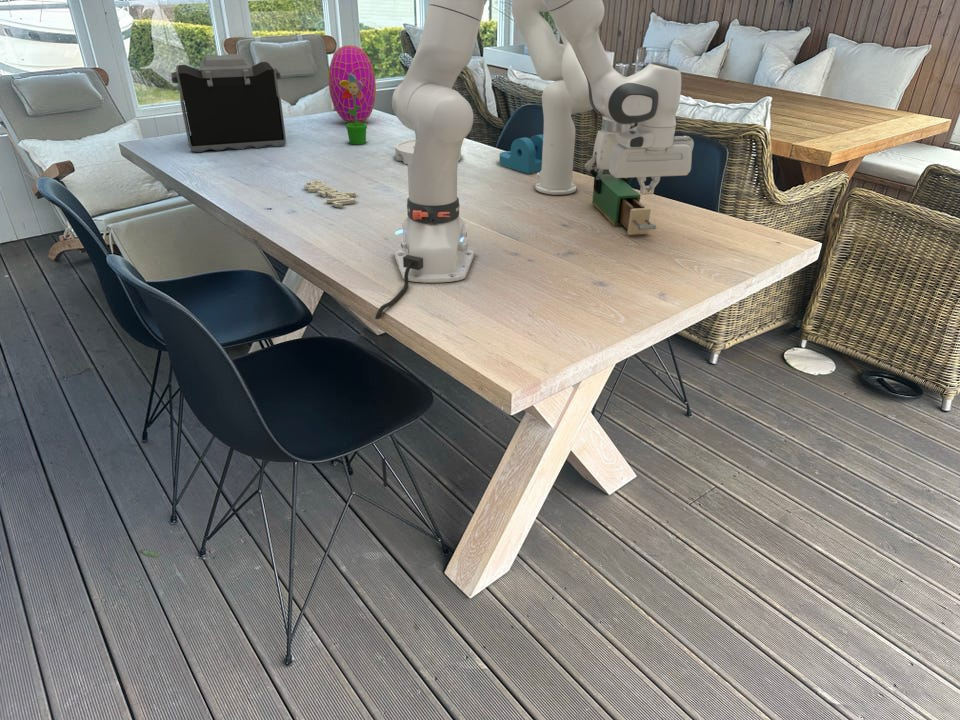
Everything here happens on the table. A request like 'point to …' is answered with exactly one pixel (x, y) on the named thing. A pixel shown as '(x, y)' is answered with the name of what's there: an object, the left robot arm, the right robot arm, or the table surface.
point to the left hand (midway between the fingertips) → (646, 193)
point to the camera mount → (524, 155)
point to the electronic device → (230, 103)
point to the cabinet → (612, 197)
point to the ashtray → (407, 151)
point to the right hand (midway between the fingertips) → (609, 191)
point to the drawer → (635, 216)
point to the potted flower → (354, 129)
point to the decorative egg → (361, 68)
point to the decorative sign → (330, 193)
